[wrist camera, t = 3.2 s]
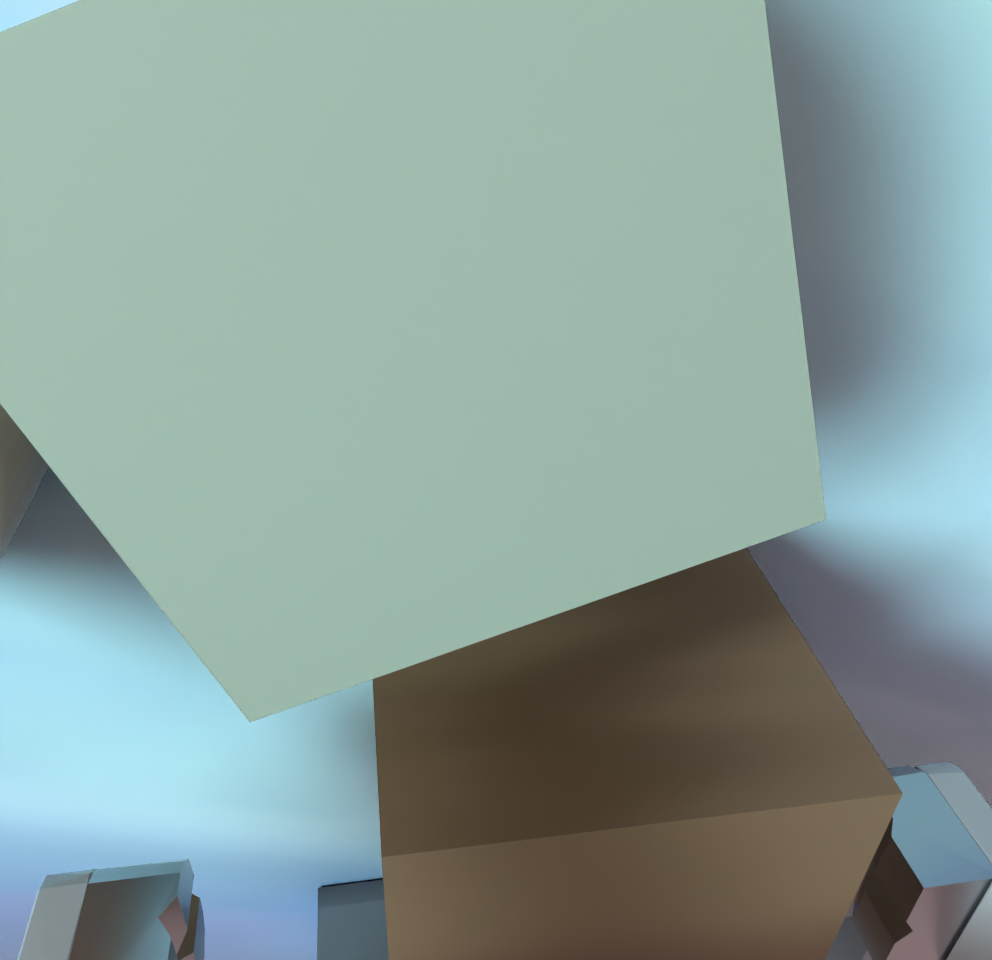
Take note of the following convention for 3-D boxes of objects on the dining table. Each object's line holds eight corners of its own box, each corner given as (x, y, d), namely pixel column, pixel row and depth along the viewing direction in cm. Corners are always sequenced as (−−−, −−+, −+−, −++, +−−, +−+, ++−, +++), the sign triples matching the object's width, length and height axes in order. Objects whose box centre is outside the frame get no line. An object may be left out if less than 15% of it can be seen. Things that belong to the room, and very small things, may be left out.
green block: (542, -186, 8) (734, -263, 4) (654, 303, 11) (825, 519, 7) (34, 19, 8) (-222, 119, 4) (277, 442, 11) (249, 721, 7)
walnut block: (714, 498, 12) (903, 793, 8) (665, 730, 15) (788, 1037, 11) (364, 521, 12) (381, 856, 8) (380, 761, 14) (398, 1101, 10)
